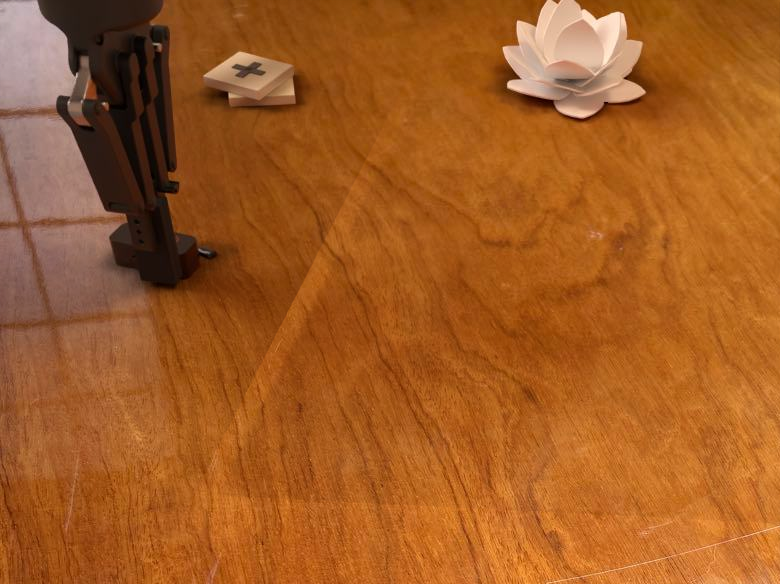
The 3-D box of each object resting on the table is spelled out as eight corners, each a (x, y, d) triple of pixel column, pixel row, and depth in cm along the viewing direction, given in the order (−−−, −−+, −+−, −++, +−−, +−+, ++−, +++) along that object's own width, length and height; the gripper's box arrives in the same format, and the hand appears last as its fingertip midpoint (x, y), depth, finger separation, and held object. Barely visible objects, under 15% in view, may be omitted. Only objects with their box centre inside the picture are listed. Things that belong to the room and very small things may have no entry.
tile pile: (202, 114, 109) (196, 82, 107) (229, 78, 114) (224, 46, 112) (290, 125, 108) (286, 93, 106) (313, 88, 113) (310, 57, 111)
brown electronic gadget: (198, 295, 89) (191, 258, 87) (114, 275, 90) (105, 239, 88) (226, 263, 92) (220, 227, 90) (145, 245, 94) (137, 209, 91)
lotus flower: (640, 54, 122) (654, -28, 115) (644, 140, 113) (659, 57, 106) (503, 42, 121) (508, -42, 114) (496, 127, 112) (501, 43, 105)
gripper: (104, -6, 66) (178, 334, 83) (187, -83, 75) (238, 238, 92) (-21, -21, 67) (77, 320, 84) (76, -95, 76) (147, 226, 93)
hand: (161, 277), depth 88 cm, fingers closed
